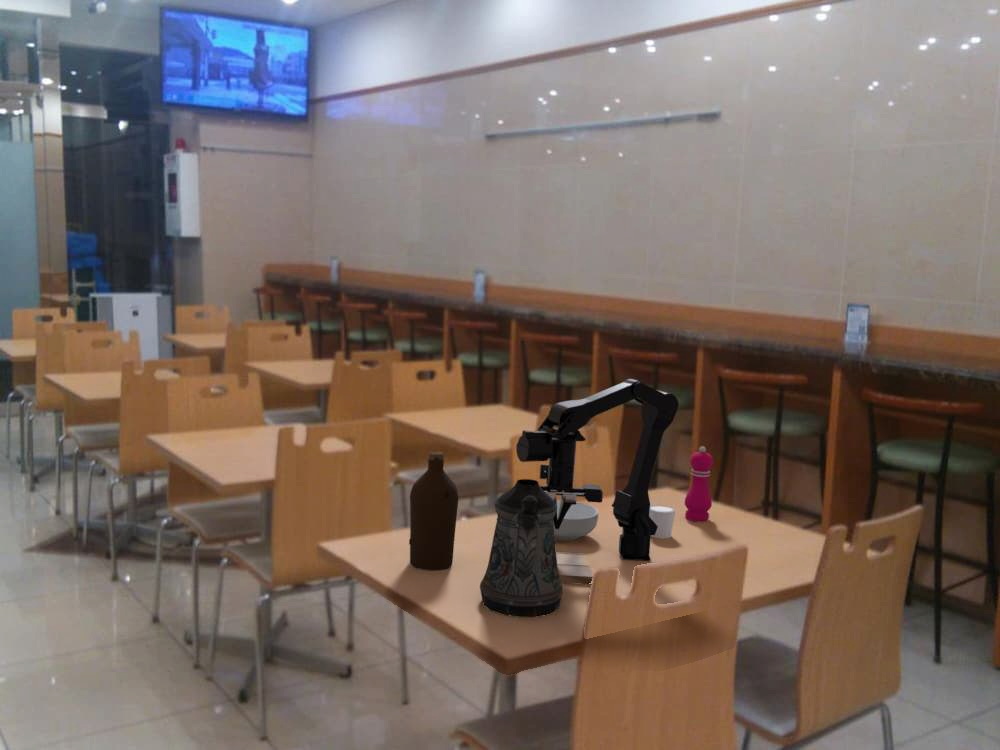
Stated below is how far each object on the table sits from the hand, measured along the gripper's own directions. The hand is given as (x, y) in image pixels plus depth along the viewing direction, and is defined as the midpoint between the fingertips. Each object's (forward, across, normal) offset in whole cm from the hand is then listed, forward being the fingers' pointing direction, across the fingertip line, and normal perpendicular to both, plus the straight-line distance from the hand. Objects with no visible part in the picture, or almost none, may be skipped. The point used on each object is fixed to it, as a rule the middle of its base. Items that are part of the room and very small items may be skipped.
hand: (556, 528), depth 225 cm
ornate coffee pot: (+9, +8, +27) cm, 29 cm away
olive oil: (+9, +28, +4) cm, 29 cm away
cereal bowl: (+8, -4, -23) cm, 25 cm away
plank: (+8, +2, +1) cm, 8 cm away
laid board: (+8, +2, +9) cm, 12 cm away
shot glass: (+8, -29, -28) cm, 41 cm away
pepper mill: (+8, -42, -46) cm, 63 cm away
